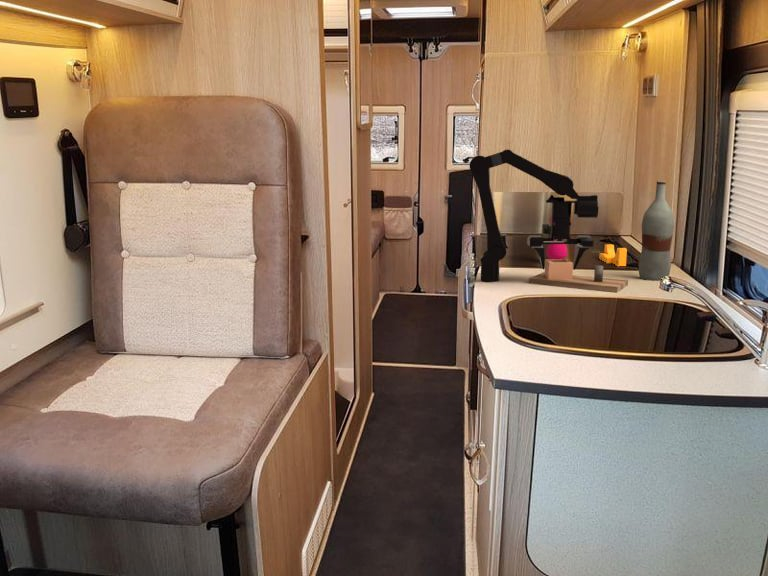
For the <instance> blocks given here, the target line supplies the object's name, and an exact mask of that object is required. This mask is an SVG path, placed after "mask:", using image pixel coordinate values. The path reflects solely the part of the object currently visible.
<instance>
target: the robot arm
mask: <svg viewBox="0 0 768 576" xmlns="http://www.w3.org/2000/svg"><path fill="white" fill-rule="evenodd" d="M503 164H508V165H510V166H512V167H514V168H515V169H517V170H519V171H521V172H523V173H525V174H527V175H529V176H530V177H532V178H534V179H537V180H538V181H540V182H541V183H543V184H544V185H545V186H546V187H548V188H549V189H551V190H552V191H553V192H554V193H556V195H559V196H554V195H553V194H550V195H549V197H548V198H546V199H545V203H547V204H551V214H550V217H551V224H550V223H549V224H546V223H545V224H541V235H536V234H535V235H530V234H529V235H528V237H527V239H526V240H527V241H526V244H527V246H529V247H531V248H532V249H533V250H536V253H537V256H538V258H539V262H540V266H541V268H542V270H545V247H544V246H543V245H549V244H565V245H574V257H573V262H572V263H573V271H574V270H576V269H577V266H578V264H579V262H580V260H581V258H582V256H583V254H584V253H585V251H587V250H589V249H590V248H592V247H594V242H595V241H594V238H593V237H592V236H590V235H577V234H576V237H571V229H572V228H571V227H572V214H573V215H575V216H576V218H577V219H598V216H599V208H600V207H599V203H598V199H599V198H598V197H599V196H598V195H597V194H591V195H579V193H578V192H576V190H575V189H574V182H573V179H572V178H571V177H569V176H568V175H564V174H561V173H557V172H555V171H551V170H548V169H545V168H543V167H541V166H539V165H538V164H536V163H534V162H532V161H530V160H528V159H527V158H524V157H523V156H520V155H519V154H517V153H515V152H514V151H512V150H511V149H504V150H503V151H499V152H498V153H494V154H490V155H487V156H483V155H476V156H474V157H473V158H472V159H471V160H470V161H469V169H470V172H471V175H472V178H473V179H474V182H475V184H476V186H477V189H478V190H477V191H478V194H479V198H480V200H479V201H480V204H481V208H482V214H483V218H484V224H485V227H486V251H485V252H483V253H482V254H481V257H480V259H479V261H480V282H484V283H497V282H499V281H500V261H502V260H503V259H504V258H505V257H506V255H507V249H509V244H508V242H507V233H506V232H504V233H502V232H501V230H500V227H499V224H498V219H497V218H498V217H497V213H496V208H495V204H494V199H493V192H492V188H491V169H492V168H494V167H498V166H501V165H503ZM564 196H566V197H568V198H570V199H571V200H566V199H565V197H564ZM572 204H573V205H572ZM572 208H573V211H572ZM572 212H573V213H572ZM543 236H547V237H543ZM555 239H558V240H556V241H553V240H555ZM562 239H564V240H562ZM589 247H590V248H589Z"/></svg>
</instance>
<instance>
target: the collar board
mask: <svg viewBox="0 0 768 576" xmlns="http://www.w3.org/2000/svg"><path fill="white" fill-rule="evenodd" d="M544 274H545V271H543V272H541V273H538V274H536V275H533V276H531V277H529V279H528V283H529V284H535V285H536V284H537V285H543V286H544V285H545V286H552V287H553V286H554V287H555V286H556V287H563V288H573V289H581V290H582V289H583V290H591V291H601V292H610V293H611V292H612V293H618V292H620V291H621V290H623V289H624V288H626V287H627V286H628V284H629V280H628V279H620V278H619V279H618V278H610V277H609V278H608V277H607V278H606V277H603V276H604V265H600V264H599V265H598V264H597V265H594V274H593V276H588V275H587V276H586V275H575V274H573V276H572V280H571V279H548V278H547V277H546V276H545V275H544Z"/></svg>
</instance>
